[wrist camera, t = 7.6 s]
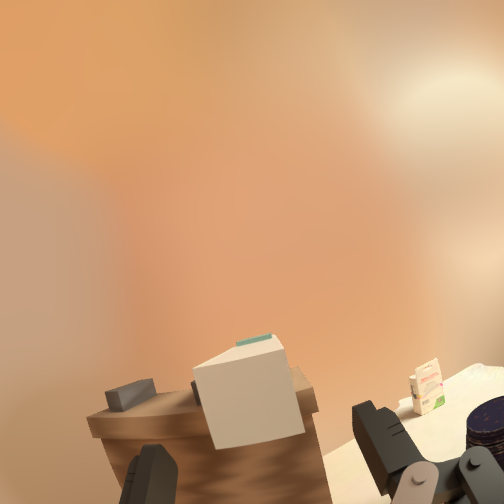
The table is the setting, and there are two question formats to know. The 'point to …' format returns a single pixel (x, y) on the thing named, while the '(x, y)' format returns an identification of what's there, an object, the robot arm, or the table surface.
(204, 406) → the bar
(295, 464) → the tall stand
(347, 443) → the table surface
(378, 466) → the robot arm
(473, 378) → the table surface
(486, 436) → the dark blue cylinder
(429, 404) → the ink box
